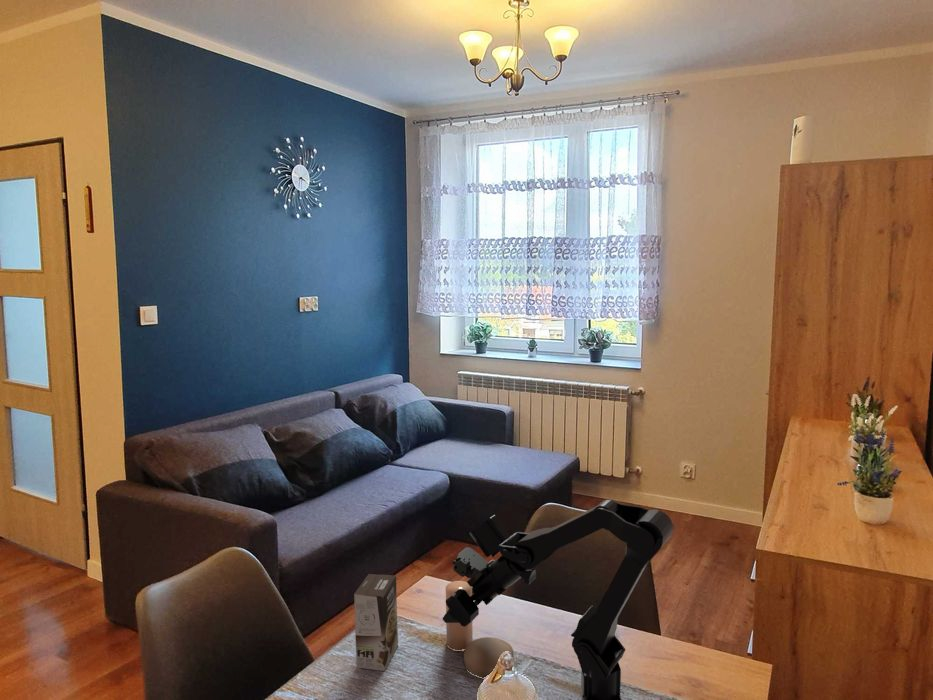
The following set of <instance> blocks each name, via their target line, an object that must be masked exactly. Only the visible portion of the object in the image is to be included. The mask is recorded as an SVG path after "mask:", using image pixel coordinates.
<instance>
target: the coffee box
mask: <svg viewBox="0 0 933 700" xmlns="http://www.w3.org/2000/svg"><path fill="white" fill-rule="evenodd" d="M353 595H354V596H353V597H354V603H353V604H354V628H355V634H354V635H355V655H356V656H355V660H356V661H355V664H356V668H358V669H366V670H367V669H368V670H374V671H379V672H380V671H381V672H384V671H386V669H387V667H388V666H389V664H390V662H391V660H392V658H393V656H394V654H395V652H396V650H397V649H398V647H399V635H398V634H399V631H398V630H399V628H398V604H397V603H398V598H397V597H398V596H397V595H398V594H397V576H396V575H392V574H391V575H390V574H373V573H368V574H367V575H366V577H364V579H363V581H362V583H361V584H360V586H358V588H357V590H356V591H355V592H354V594H353Z"/></svg>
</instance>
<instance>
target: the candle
mask: <svg viewBox="0 0 933 700" xmlns="http://www.w3.org/2000/svg"><path fill="white" fill-rule="evenodd" d="M445 585H446V586H445V601H446V600H447V599H448V598H449V597H450V596H451V595H452V594H454V593H455V592H456V591H457V590H458V589H463V590H465V591H466V592H467V593H468V595H469V596H471V595H472V586H471V587H470V585H469V584H468V583H467V581H466V580H465V581H464V580H454V581H451V582H449V583H447V584H445ZM448 609H449V608H448V606H447V605H446V604H445V611H446V612H447V611H448ZM446 612H445V613H446ZM445 626H446V635H445V636H446V646H447V645H448V646H449V647H450V648H452V649H455V650H462V649H465V647H466V646H467V645H468V644H469V643H470V642H472V641H473V640H474V639H473V634H474V633H473V631H474V630H473V629H474V626H473V621H472V622H471V623H469V624H468V625H467V626H465V627H464V626H461V624H460V623H445Z"/></svg>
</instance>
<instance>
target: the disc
mask: <svg viewBox="0 0 933 700" xmlns="http://www.w3.org/2000/svg"><path fill="white" fill-rule="evenodd" d="M505 651H509V652H511V654H512V657H513V658H514V649H513V647H512V645H511V644H510V643H508V642H507V641H506V640H503V639H501V638H497V637H487V636H485V637H479V638H476V639H473V641H472V642H470V643H469V644H468V645H467V646H466V647H465V650H464V651H463V652H464V653H463V657H464V659H463V660H464V662H463V664H465V665H464V668H465V667H466V669H467V670H468V671H469V672H471V673H472V674H474V675H477V676H479V677H482V678H484V677H486V676H487V675H489V674H490V673H491V672H492V671H493V669H494V668H495V666H496V664H497V661H498V659H499V657H500V655H501V654H502V653H503V652H505ZM466 669H465V670H466ZM467 670H466V671H467Z"/></svg>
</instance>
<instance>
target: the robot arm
mask: <svg viewBox="0 0 933 700" xmlns="http://www.w3.org/2000/svg"><path fill="white" fill-rule="evenodd" d="M674 528H675V526H674V524H673V522H672V519H671V517H669V515H668V514H667V513H665V512H664V511H662V510H660V509H649V508H646V507H643V506H640V505H639V506H638V505H634V504H627V503H621V502H618V501H615V500H613V499H606V500H602V502H600V503H599V504H598V505H596V506H594V507H592V508H590V509H588V510H586V511H584V512H582V513H580V514H578V515H576V516H574V517H572V518H570V519H568V520H566V521H564V522H562V523H560V524H558V525H555V526H553V527H543V528H539V529H535V530H532V531H530V532H521V531H516V532H515V533H513V534H512V535H510V534H509V533H508V531H507V530H506V529H505V528H504V526H503V525H502V523H501V521H500V519H499V518H498V517H497V516H496V515H495V514H493V515H492V516H490V517H489V518H488V519H486V520H485V521H484V522H482V523H481V524H479V525H477V526H476V527H474V528H473V529H472V530H471V531H470V532H469V535H470V537H471V538H472V539H473V540H474V542H475V543H476V545H477V546H478V547H479V549H480V550H481V552H482V553H483V555H484V556H485V557H486V558H487V559H488V558H489V557H490V556H491V557H492V558H495V557H496V556H497V555H498V554H501V555H500V556H499V557H498V558H496V559H491V560H490V561H489V562H488V561H487V560H486V559H485V558H484V556H482V555H481V554H479V553H478V552H477V551H476V550H475V549H473V548H471V547H469V546H468V547H467V546H466V547H465V548H463V550H461V551H460V552H459V553H458V555H457V556H456V558H455V559H454V560H453V561H452V569H453V571H454V572H455V573H456V574H458V576H460V577H466V578H468V580H467V581H466V582H467V583H468V584H469V585H470V587H471V586H472V595H471V596H469V595H468V593H467V592H466V591H465V590H463V589H458V590H457V591H456V592H455V593H454V594H452V595H451V596H450V597H449V598H448V599H447V600H446V599H445V606H446V605H447V606H448V608H449V609H448V611H447V612H445V614H444V615H443V617H442V621H443V622H444V623H445V624H446V623H460V624H461V626H464V627H465V626H467V625H468V624H469V623H471V622H472V623H473V622H474V621H473V620H475V619H476V618H477V617H478V616H479V614H480V613H479V612H480V610H479V605H480V604H481V603H482V602H483V603H484V604H485V606H487V605H489V604H490V603H491V602H492V601H493V600H494V599H496V597H497V596H501V595H503V593H504V592H505V591H506V590H507V589H508V588H509V587H511V586H512V585H514V584H515V583H516V582H517V581H519V580H520V579H522V581H523V582H524V583H525V585H527V586H529V585H530V584H531V583H533V581H534V580H535V579H537V572H536V570H537V567H538V566H540V565H541V564H542V563H543V562H544V561H545V560H547V559H549V557H551V556H552V555H553V554H554V553H555V552H557V551H558V550H560V549H562V548H564V547H566V546H568V545H570V544H571V545H572V544H573V543H575V542H576V541H579V540H581V539H583V538H585V537H588V536H589V535H591V534H594V533H595V532H598V531H601V530H602V529H604V530H606V531H609V532H610V533H611V534H613V536H615V537H616V538H617V539H619V540H620V541H621V542H624V543H626V544H625V555H624V558H623V560H622V562H621V564H620V565H619V567H618V569H617V571H616V572H615V575H614V577H613V578H612V581H611V582H610V584H609V586H608V588H607V590H606V591H605V593H604V595H603V598H602V599H601V601H600V603H599V605H598V607H597V609H596V608H595V606H593V605H590V606H589V608H588V609H587V610H586V611H585V613H584V614H583V615H581V617H580V618H579V620H578V621H577V626H576V628H575V629H574V630H573V632H572V633H571V634H570V636H571V637H572V640H571V641H572V642H571V648H573V651H574V653H575V654H576V656H577V660H578V663H579V666H580V669H581V679H580V680H581V681H580V682H581V683H580V688H581V692H582V695H583V697H584V698H585V700H623V699H622V696H621V686H622V684H621V680H622V679H621V676H622V669H621V666H620V663H619V662H620V660H621V659H622V658H623V657H624V653H625V652H626V648H625V646H624V645H623V644H622V643H621V641H620V640H619V638H617V636H616V635H615V634H616V631H617V628H618V619H619V616H620V614H621V612H622V611H623V608H624V607H625V605H626V603H627V602H628V600H629V598H630V596H631V594H632V593H633V590H634V589H635V587H636V585H637V583H638V582H639V580H640V578H641V576H642V575H643V572H644V570H645V569H646V568H647V565H648V563H650V562H651V561H652V559H654V557H655V556H656V555H657V554H658V553H659V552H660V550H661V549H662V547H663V546H664V545H665V544H666V543H667V541H668V540H669V539H670V537H671V536H672V535H673V533H674Z"/></svg>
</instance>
